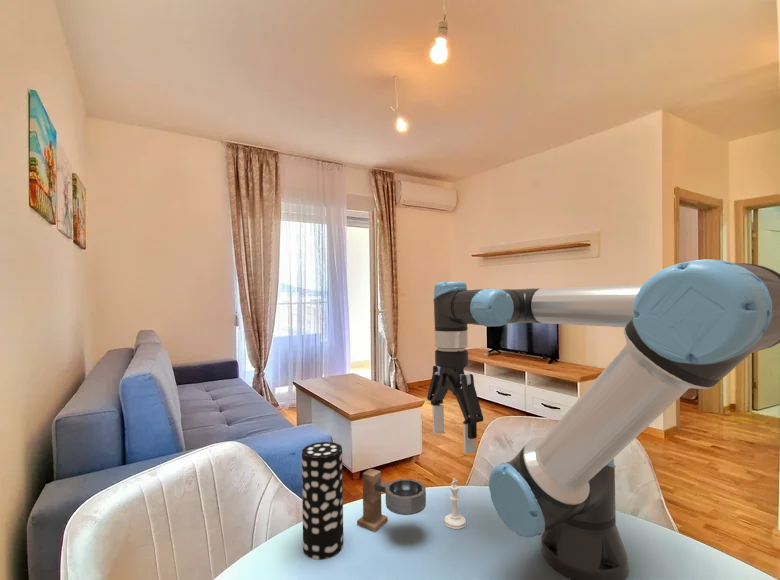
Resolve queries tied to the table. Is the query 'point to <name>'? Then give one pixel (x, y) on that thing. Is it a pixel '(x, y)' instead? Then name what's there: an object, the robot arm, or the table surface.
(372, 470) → the walnut post
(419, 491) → the cup bracket
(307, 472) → the white-spotted black cylinder
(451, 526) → the chess piece
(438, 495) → the table surface
